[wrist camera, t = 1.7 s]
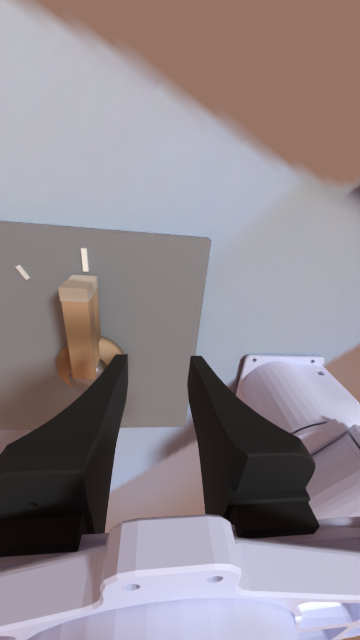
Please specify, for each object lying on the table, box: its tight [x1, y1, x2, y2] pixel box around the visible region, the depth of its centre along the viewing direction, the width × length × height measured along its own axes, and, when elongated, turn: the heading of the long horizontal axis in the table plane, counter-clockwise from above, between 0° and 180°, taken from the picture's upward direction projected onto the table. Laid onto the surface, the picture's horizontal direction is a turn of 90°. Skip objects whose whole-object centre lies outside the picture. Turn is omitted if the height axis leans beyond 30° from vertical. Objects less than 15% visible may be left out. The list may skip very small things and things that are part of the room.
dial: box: [57, 275, 123, 392], centre depth 20 cm, size 12×6×3 cm, turn 175°
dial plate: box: [0, 221, 211, 429], centre depth 23 cm, size 22×22×2 cm
